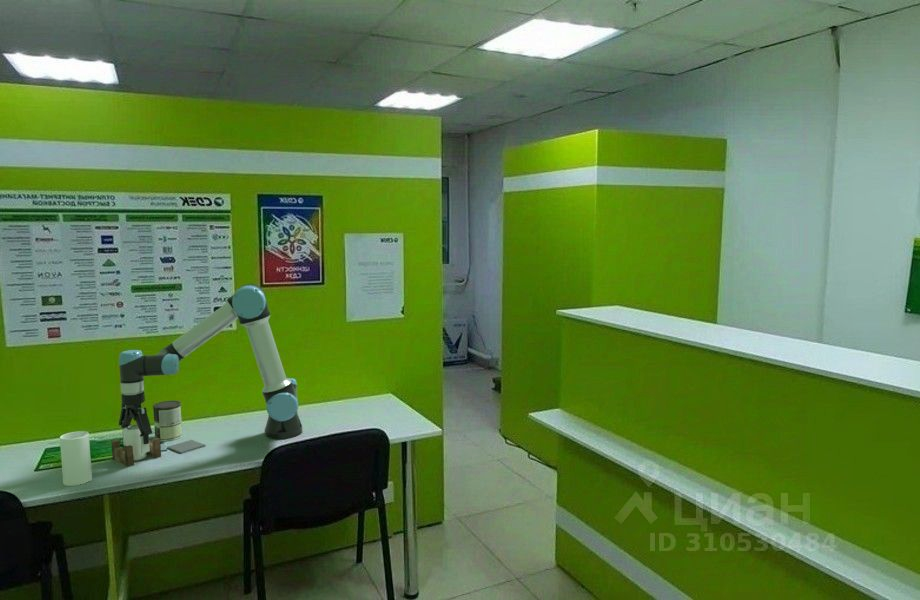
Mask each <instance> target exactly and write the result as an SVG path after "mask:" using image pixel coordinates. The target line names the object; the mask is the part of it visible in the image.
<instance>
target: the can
mask: <svg viewBox="0 0 920 600" xmlns="http://www.w3.org/2000/svg"><path fill="white" fill-rule="evenodd" d="M140 435H141V432H140V430H139V428H138V425H137V424H133V425H132V424H131V426H128V427H127V430H126V445H125V446H129V445H131V446H133V459H134V462H136V461H138V462H139V461H142V460H144V459H147V456H148V455H147V452H146V453H141V441H140Z"/></svg>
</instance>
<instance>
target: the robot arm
mask: <svg viewBox="0 0 920 600" xmlns="http://www.w3.org/2000/svg"><path fill="white" fill-rule="evenodd" d="M270 311H271V310H270V308H269V306H268V302H267V296H266V292H265V291H264V289H263V288H262V287H261V286H259V285H258V284H254V283H246V284H243V285H241V286H240V287H239V288H238V289H237V290H236V291H235V292H234V293H233V294H232V295H230V297H228V298H227V299H226V300H225V304H223V305H222V306H220V307H219V308H218V309H216V310H215V311H214V312H212V313H211V314H209V315H208V316H207V317H204V319H203V320H201V321H200V322H199V323H197V324H196V325H194V326H192V328H190V329H189V330H187V331H186V332H185V333H183V334H181V336H179V337H178V338H176V339H175V340H173V341H172V342H171V343H170V344H168V345H167V346H165V347H162V349H160V350H159V351H158V353H157V354H151V355H145V354H143V352H142V350H141V349H128V350H125V351H121V352H120V353H119V356H118V362H119V363H118V367H119V376H120V381H119V382H120V383H119V384H120V393H121V395H120V396H121V410H120V415H119V421H118V426H120V427H121V429H122V441H123V442H122V445H123V446H124V447H125V446H126V430H127V427H128V426H132V424H131V423H132V420H133V421H135V423H136V425H138V428H139V430H140V432H141V435H140V441H141V453H146V452H149V451H150V447H149V441H150V435H152V434H153V431H152V429H153V428H152V427H151V423H150V420H149V416H148V413H147V411H148V410H147V408H146V406H145V407H142V405H141V404H143V403H144V402H145V401H146V399H145V395H146V394H145V392H144V391H145V384H146V383H145V381H144V377H151V376H152V377H153V376H169V375H175V374H177V373H179V370H180V361H182V360H184V359H185V358H186V357H187V356H188V355H190V354H191V353H193V352H194V351H195V350H198V348H200V347H201V346H203V345H204V344H205V343H207V342H208V341H209V340H210V339H212V338H213V337H215V336H217V335H218V334H219V333H220V332H222V331H223V330H225V329H226V328H227V327H229V326H230V325H231V324H233V323H235V321H237V320H238V321H239V325H240V326H242V327H244V328H245V329H246V332H247V336H248V338H249V341H250V346H251V348H252V351H253V354H254V357H255V361H256V365H257V367H258V370H259V372H260V376H261V379H262V382H263V384H264V386H263V388H262V390H261V393H262V395H263V398H264V401H265V404H266V412H267V414H268V417H267V421H266V425H265V428H264V436H265V437H266V438H269V439H275V440H276V439H277V440H281V439H289V438H291V439H292V438H294V437H297V436H299V435H301V434H302V433H303V424H302V422H301V419H300V416H299V413H298V409H299V405H300V404H299V403H300V402H299V400H298V389H297V388H298V387H297V386H298V383H297V380H296V379H295V378H292V377H291V378H290V377H287V375H286V372H285V369H284V367H283V364H282V360H281V357H280V353H279V350H278V348H277V344H276V341H275V338H274V335H273V331H272V328H271V326H270V322H269V319H270V317H271V316H272V315H271V312H270Z"/></svg>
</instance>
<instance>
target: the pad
mask: <svg viewBox="0 0 920 600" xmlns="http://www.w3.org/2000/svg"><path fill="white" fill-rule="evenodd" d="M205 447H206V444H204V443H202V442H199V441H197V440H194V439H189V440H186V441H182V442H179V443H175V444H172V445H169V446H167V447H166V448H167V449H168V450H171V451H174V452H175V453H178V454H185V453H188V452H191V451H195V450H197V449H201V448H205Z"/></svg>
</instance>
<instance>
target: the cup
mask: <svg viewBox="0 0 920 600" xmlns="http://www.w3.org/2000/svg"><path fill="white" fill-rule="evenodd" d="M59 445H60V458H61V459H60V460H61V469H62V471H61V472H62V485H64V486H68V487H73V486H74V487H75V486H80V484H81V485H84V484H86V482H87V483H89V482H90V481H92V479H93V473H92V461H91V460H92V459H91V446H90V433H89V431H85V430H79V431H77V430H76V431H72V432H71V431H70V432H67V433H64V434H62V435H61V436H59ZM88 481H89V482H88Z"/></svg>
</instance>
